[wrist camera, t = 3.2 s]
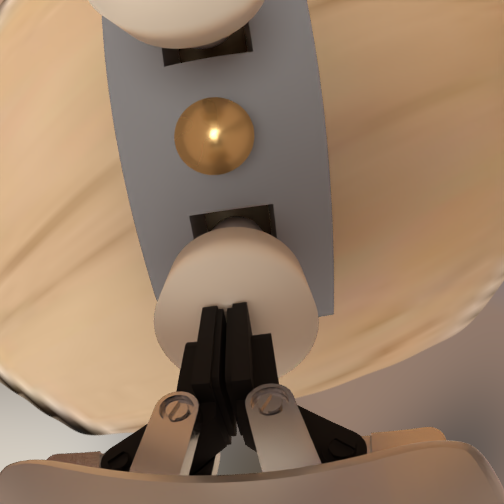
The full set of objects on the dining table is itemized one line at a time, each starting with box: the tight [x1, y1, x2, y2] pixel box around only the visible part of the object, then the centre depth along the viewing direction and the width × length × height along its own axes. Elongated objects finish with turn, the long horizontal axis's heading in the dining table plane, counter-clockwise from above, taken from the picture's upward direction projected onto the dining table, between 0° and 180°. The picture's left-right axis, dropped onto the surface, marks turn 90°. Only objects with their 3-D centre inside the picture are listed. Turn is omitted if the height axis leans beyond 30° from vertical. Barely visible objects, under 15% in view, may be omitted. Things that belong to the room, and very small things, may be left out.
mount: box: [102, 0, 334, 317], centre depth 19 cm, size 12×26×6 cm, turn 7°
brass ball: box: [174, 97, 254, 175], centre depth 15 cm, size 4×4×4 cm
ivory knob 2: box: [154, 216, 319, 378], centre depth 16 cm, size 6×6×9 cm
